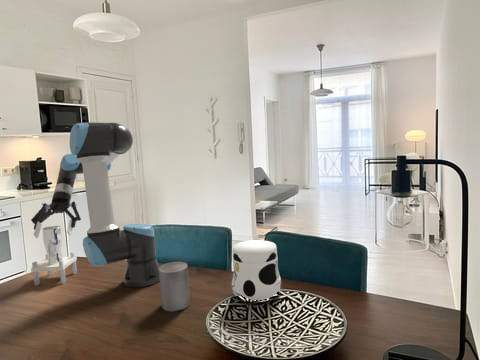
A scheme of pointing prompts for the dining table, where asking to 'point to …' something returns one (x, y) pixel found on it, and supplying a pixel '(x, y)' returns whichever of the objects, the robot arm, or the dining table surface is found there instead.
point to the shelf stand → (54, 267)
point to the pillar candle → (174, 286)
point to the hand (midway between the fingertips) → (52, 235)
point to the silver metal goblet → (53, 244)
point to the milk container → (255, 270)
